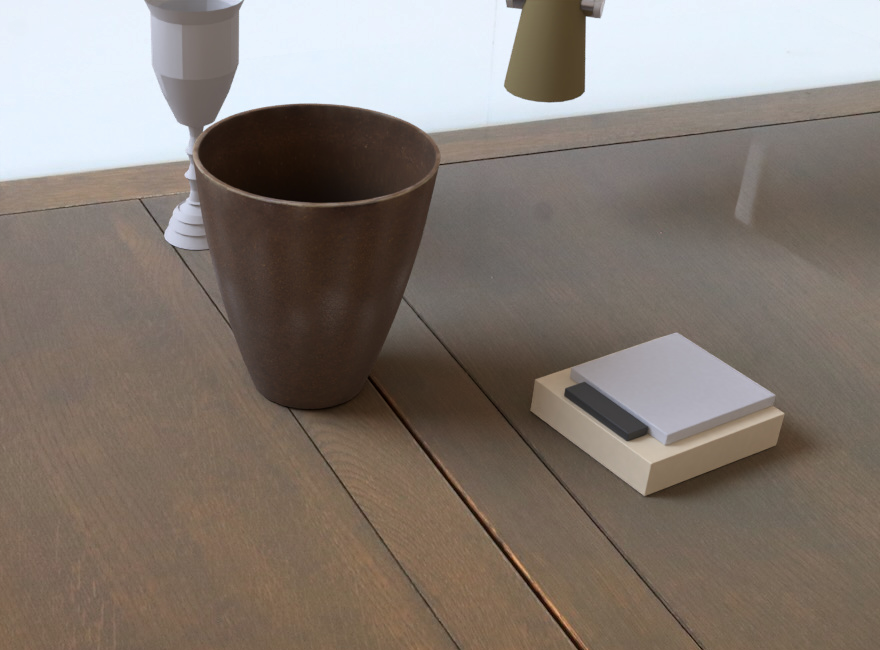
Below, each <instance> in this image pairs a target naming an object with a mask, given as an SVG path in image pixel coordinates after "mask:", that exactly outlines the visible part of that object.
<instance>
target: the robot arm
mask: <svg viewBox="0 0 880 650" xmlns="http://www.w3.org/2000/svg"><path fill="white" fill-rule="evenodd" d="M525 3H526V0H505V5H506V8H509V9H515V10H517V9H518V10H522V8H523V5H524V4H525ZM605 4H606V0H581V5H580V9H581V11H582V12H583V14H584V16H585V17H586V18H587V17H588V18H594V19H601V18H602V16H603V12H604V9H605V8H604V7H605Z"/></svg>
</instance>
